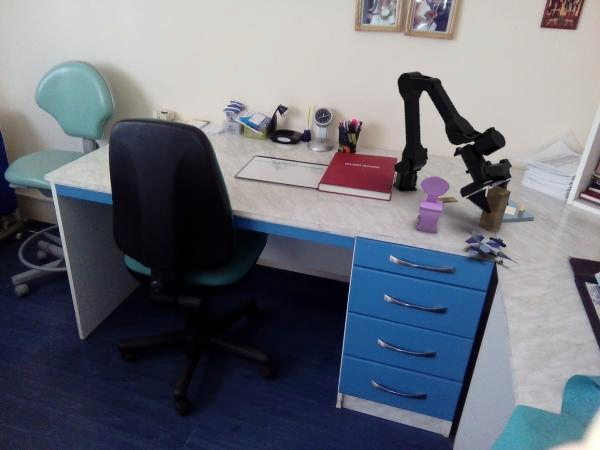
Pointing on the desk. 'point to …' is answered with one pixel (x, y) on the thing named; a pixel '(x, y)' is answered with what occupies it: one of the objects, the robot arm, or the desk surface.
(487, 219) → the block
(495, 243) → the toy airplane
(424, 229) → the toy chair
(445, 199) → the wing slat
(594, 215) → the desk surface
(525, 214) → the board
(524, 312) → the desk surface
